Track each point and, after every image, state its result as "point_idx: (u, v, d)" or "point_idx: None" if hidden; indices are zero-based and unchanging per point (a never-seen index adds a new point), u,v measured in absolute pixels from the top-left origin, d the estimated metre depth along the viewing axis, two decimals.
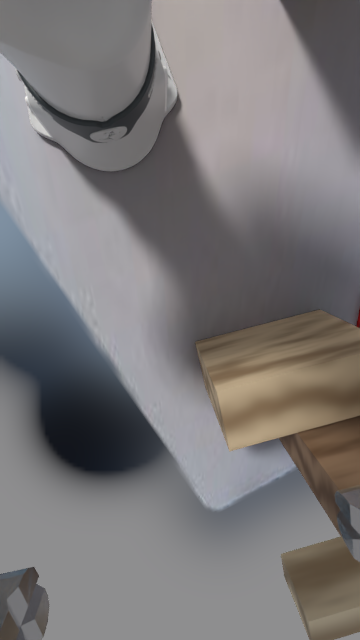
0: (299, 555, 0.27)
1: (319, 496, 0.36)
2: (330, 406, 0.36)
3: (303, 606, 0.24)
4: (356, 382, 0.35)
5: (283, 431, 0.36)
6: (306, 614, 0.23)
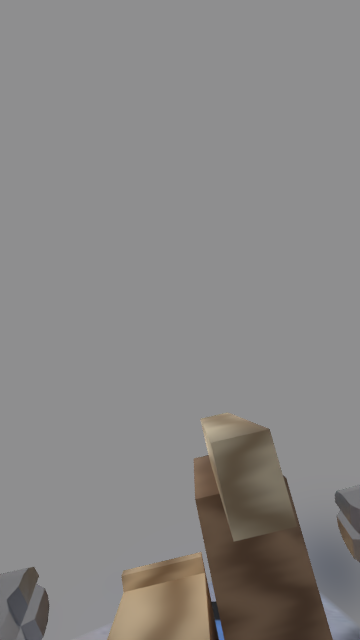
0: (227, 518, 0.17)
1: (299, 588, 0.21)
2: (178, 632, 0.24)
3: (215, 460, 0.16)
4: (154, 608, 0.27)
5: None
6: (212, 450, 0.17)
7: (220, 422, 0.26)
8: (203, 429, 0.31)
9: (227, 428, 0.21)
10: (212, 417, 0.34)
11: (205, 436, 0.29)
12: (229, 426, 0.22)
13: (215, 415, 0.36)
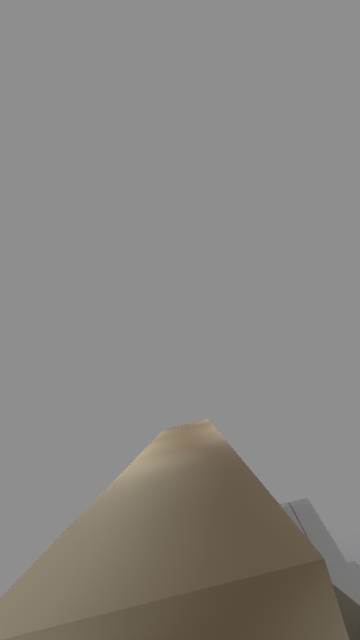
0: None
1: None
2: None
3: None
4: None
5: None
6: None
7: (176, 444, 0.12)
8: None
9: (164, 477, 0.07)
10: (179, 428, 0.20)
11: None
12: (177, 466, 0.08)
13: (187, 424, 0.22)
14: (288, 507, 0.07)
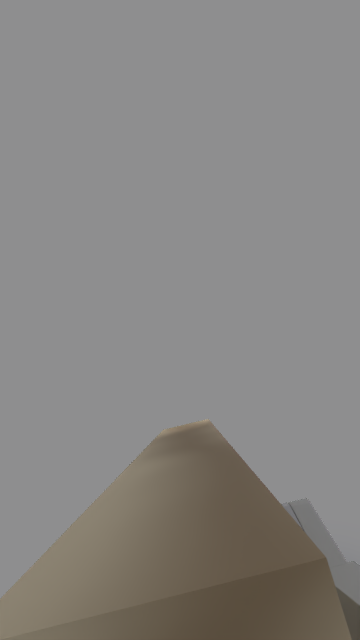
0: None
1: None
2: None
3: None
4: None
5: None
6: None
7: (176, 444, 0.12)
8: None
9: (165, 477, 0.07)
10: (180, 428, 0.20)
11: None
12: (178, 466, 0.08)
13: (187, 424, 0.22)
14: (288, 507, 0.07)
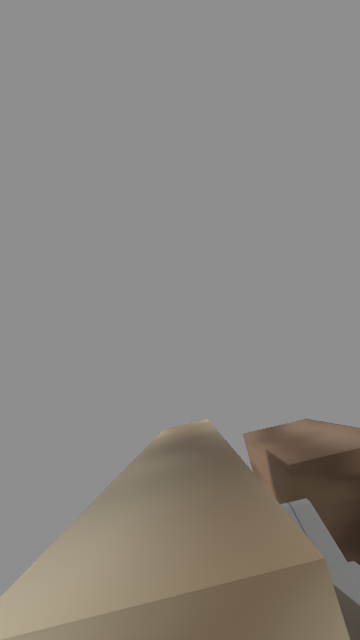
0: None
1: None
2: None
3: None
4: None
5: None
6: None
7: (176, 444, 0.12)
8: None
9: (164, 477, 0.07)
10: (179, 428, 0.20)
11: None
12: (177, 466, 0.08)
13: (187, 424, 0.22)
14: (288, 507, 0.07)
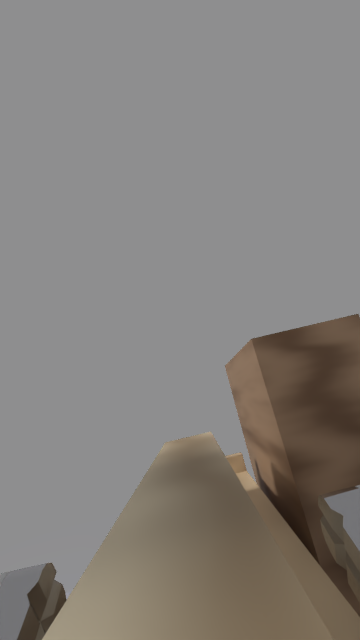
0: None
1: None
2: None
3: None
4: None
5: (281, 541, 0.14)
6: None
7: (180, 468, 0.12)
8: None
9: (171, 521, 0.07)
10: (182, 442, 0.19)
11: None
12: (183, 504, 0.08)
13: None
14: (358, 490, 0.07)
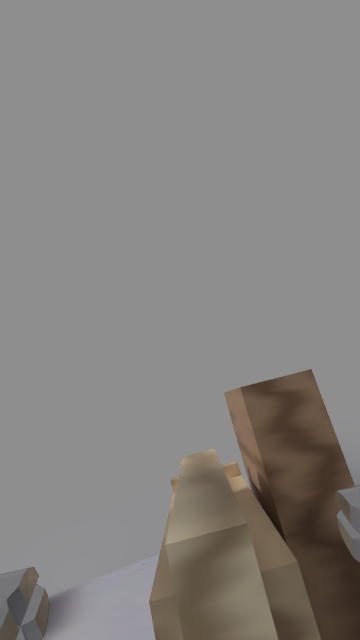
0: None
1: (325, 447, 0.27)
2: None
3: (171, 571, 0.12)
4: None
5: (257, 518, 0.24)
6: None
7: (198, 475, 0.22)
8: None
9: (199, 499, 0.16)
10: (195, 457, 0.29)
11: None
12: (203, 492, 0.17)
13: None
14: None
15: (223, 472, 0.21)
